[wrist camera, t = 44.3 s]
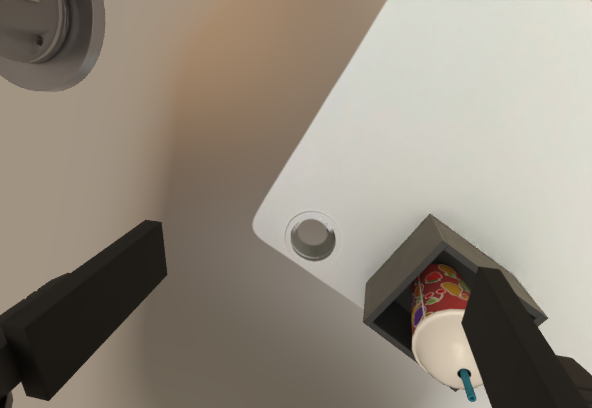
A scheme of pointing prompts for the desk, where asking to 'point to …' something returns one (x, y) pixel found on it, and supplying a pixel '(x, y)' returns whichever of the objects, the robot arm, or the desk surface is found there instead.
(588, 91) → the desk surface
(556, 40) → the desk surface
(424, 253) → the bin
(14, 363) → the robot arm
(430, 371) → the smoothie
